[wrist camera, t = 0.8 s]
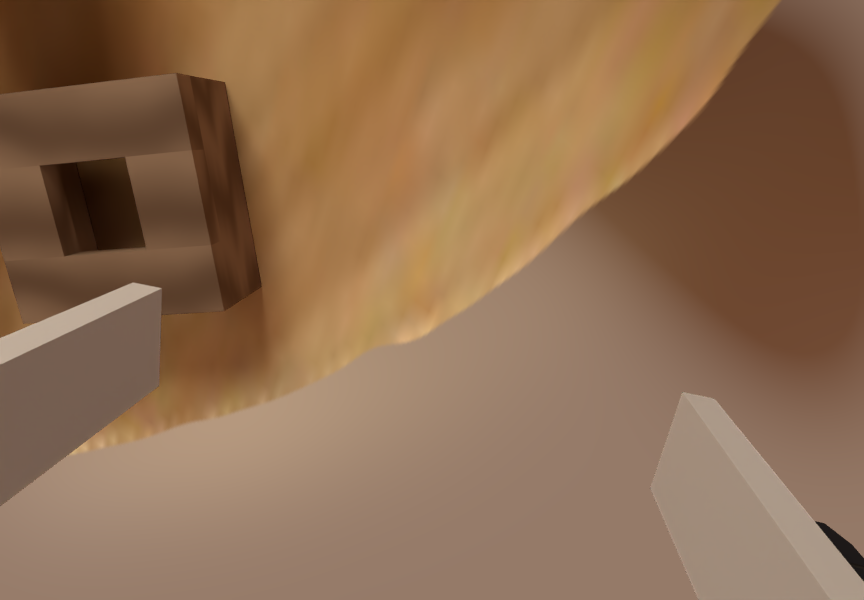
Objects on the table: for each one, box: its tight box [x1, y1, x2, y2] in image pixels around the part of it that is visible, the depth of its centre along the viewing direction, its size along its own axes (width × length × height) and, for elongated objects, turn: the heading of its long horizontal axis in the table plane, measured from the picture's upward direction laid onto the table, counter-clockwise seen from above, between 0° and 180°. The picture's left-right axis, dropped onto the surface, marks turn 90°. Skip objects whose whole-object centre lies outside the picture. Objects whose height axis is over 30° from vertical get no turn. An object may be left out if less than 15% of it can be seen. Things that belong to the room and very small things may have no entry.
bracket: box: [0, 73, 261, 324], centre depth 38 cm, size 14×14×6 cm
